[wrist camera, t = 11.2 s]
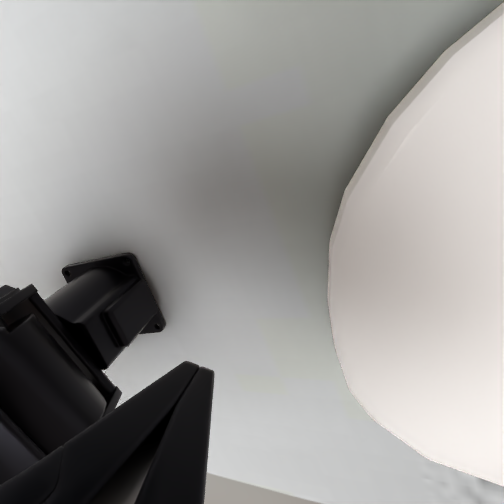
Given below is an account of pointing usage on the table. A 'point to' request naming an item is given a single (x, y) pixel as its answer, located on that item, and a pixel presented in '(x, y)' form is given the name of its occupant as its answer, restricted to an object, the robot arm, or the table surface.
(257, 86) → the table surface
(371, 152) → the plate
